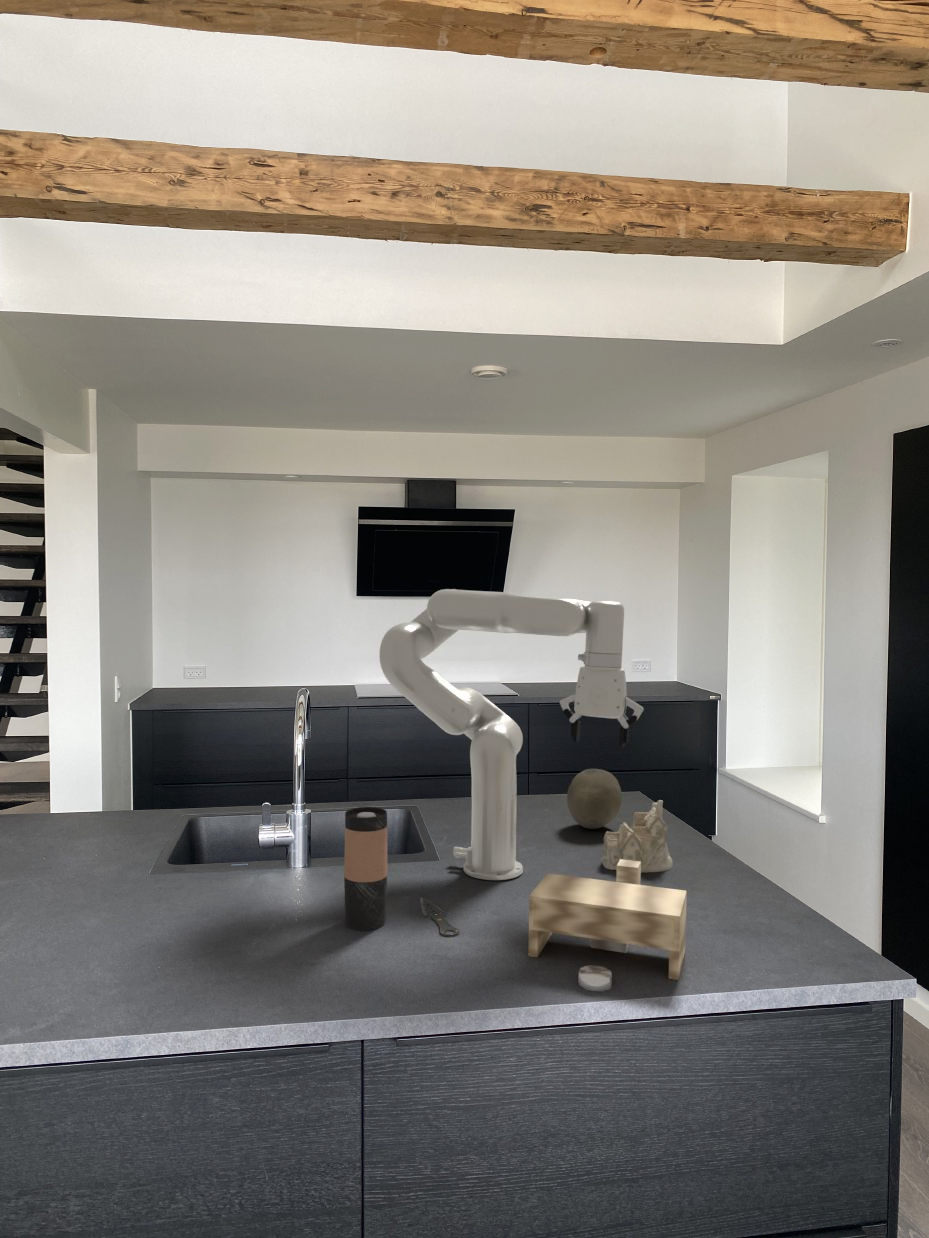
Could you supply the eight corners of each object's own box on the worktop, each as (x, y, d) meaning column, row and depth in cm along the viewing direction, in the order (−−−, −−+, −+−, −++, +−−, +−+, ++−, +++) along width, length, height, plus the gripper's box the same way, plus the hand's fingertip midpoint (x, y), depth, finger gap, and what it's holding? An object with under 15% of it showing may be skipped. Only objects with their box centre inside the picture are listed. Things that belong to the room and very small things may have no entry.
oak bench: (528, 956, 140) (528, 896, 140) (546, 928, 152) (547, 873, 151) (678, 980, 132) (679, 916, 132) (685, 949, 144) (686, 890, 144)
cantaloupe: (554, 827, 216) (555, 768, 215) (589, 818, 225) (590, 761, 225) (598, 840, 205) (599, 778, 205) (633, 829, 215) (635, 770, 214)
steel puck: (575, 990, 129) (576, 977, 129) (581, 975, 134) (581, 963, 134) (609, 995, 128) (609, 981, 128) (613, 980, 133) (613, 967, 133)
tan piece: (590, 947, 144) (591, 900, 144) (614, 899, 167) (614, 858, 167) (626, 952, 142) (627, 905, 142) (645, 903, 165) (646, 862, 165)
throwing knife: (440, 939, 147) (440, 936, 147) (410, 899, 166) (410, 896, 166) (464, 936, 149) (464, 933, 149) (431, 896, 168) (431, 893, 168)
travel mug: (393, 917, 156) (394, 809, 155) (375, 933, 149) (376, 819, 148) (355, 912, 158) (356, 805, 158) (336, 927, 151) (337, 815, 150)
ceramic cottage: (668, 850, 198) (665, 786, 197) (676, 877, 182) (673, 807, 181) (600, 851, 200) (597, 788, 199) (601, 877, 184) (598, 809, 183)
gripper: (557, 659, 176) (553, 742, 177) (641, 666, 169) (637, 751, 170) (567, 657, 183) (563, 736, 183) (648, 663, 176) (644, 745, 177)
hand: (598, 743), depth 177 cm, fingers open, 9 cm apart
